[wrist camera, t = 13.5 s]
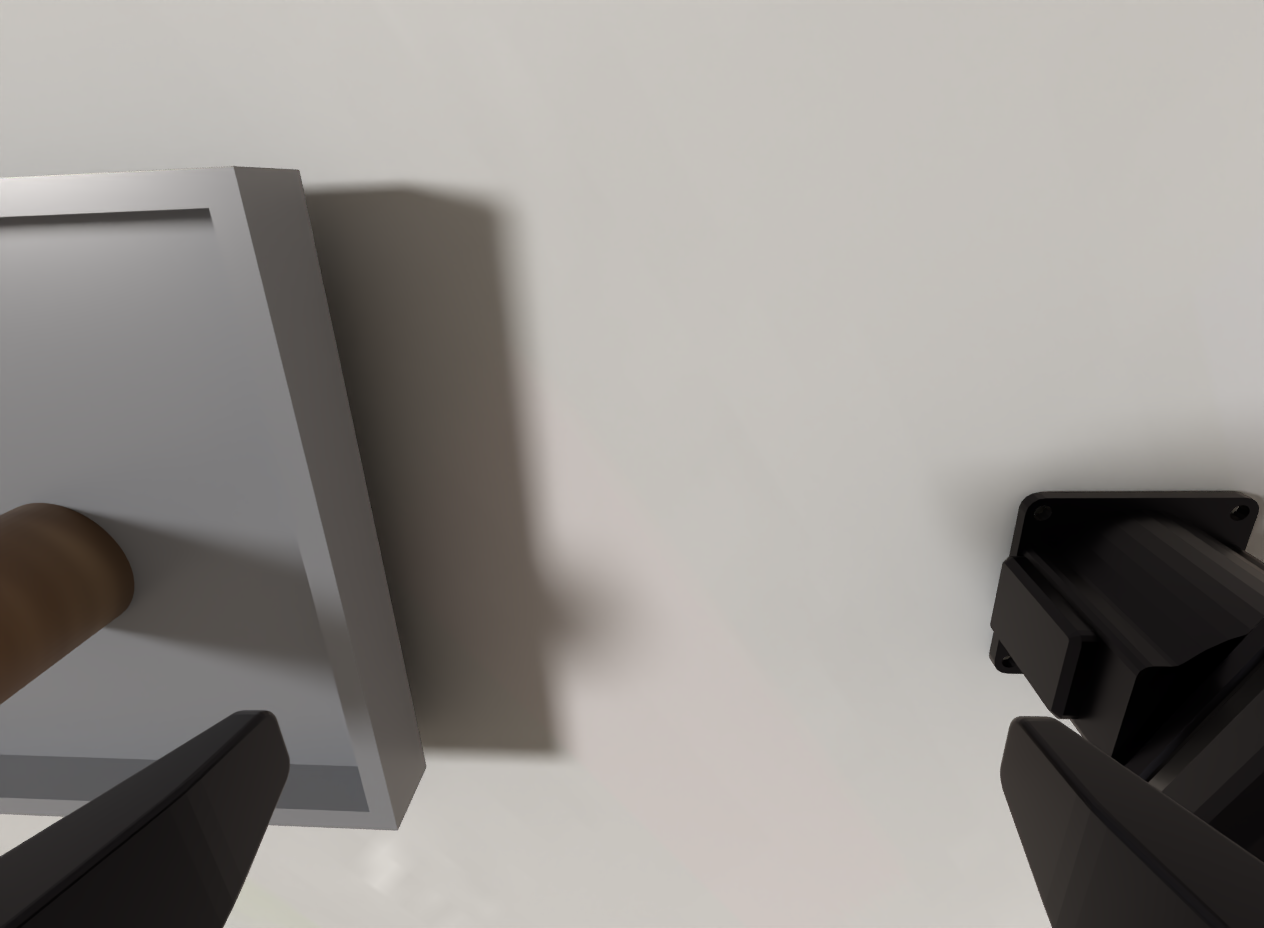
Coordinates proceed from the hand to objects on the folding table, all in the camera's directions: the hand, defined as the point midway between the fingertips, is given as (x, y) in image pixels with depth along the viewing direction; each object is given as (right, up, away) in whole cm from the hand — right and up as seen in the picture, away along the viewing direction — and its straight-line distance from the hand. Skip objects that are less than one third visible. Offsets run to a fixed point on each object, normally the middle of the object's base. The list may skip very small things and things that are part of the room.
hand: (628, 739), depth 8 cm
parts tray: (-18, +2, +15) cm, 23 cm away
